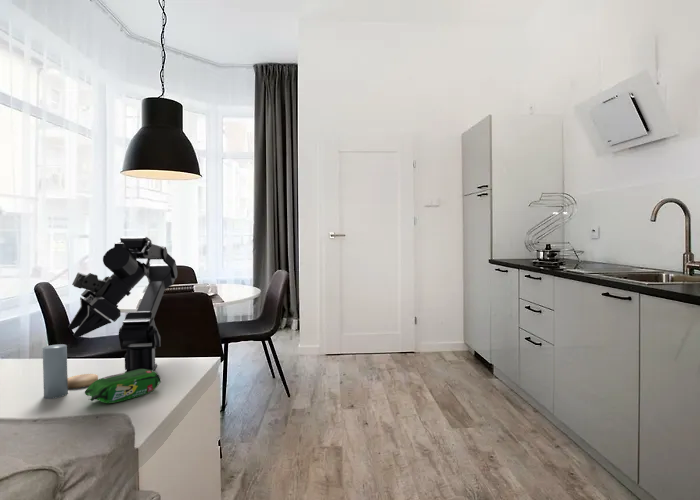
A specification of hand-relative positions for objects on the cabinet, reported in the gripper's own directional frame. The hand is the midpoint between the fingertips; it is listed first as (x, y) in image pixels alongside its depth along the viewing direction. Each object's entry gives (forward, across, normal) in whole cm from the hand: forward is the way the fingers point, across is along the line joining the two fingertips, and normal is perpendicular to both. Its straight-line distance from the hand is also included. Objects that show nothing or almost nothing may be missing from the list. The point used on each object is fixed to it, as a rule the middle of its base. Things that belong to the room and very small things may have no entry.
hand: (72, 332), depth 100 cm
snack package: (+4, +14, +15) cm, 21 cm away
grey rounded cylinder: (+12, +2, +6) cm, 14 cm away
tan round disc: (+8, -3, +11) cm, 14 cm away
